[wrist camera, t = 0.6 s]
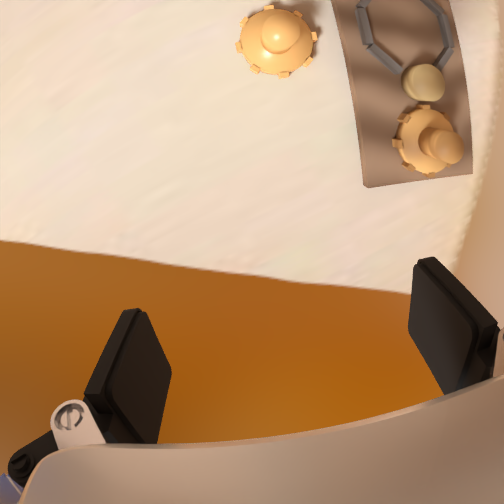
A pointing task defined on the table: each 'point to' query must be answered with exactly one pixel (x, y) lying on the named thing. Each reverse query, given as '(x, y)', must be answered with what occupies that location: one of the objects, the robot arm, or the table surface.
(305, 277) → the table surface
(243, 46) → the gear
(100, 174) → the table surface
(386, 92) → the carrier
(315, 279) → the table surface
